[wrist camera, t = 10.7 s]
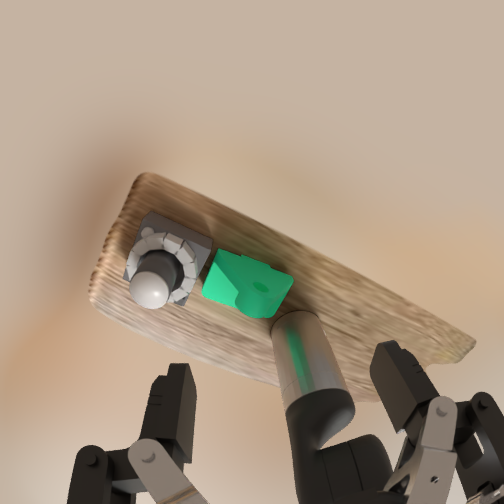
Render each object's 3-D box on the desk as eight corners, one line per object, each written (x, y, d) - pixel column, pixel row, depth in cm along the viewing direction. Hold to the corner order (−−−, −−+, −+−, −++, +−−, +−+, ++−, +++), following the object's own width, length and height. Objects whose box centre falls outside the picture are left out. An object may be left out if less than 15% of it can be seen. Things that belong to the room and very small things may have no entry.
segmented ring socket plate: (213, 239, 40) (209, 256, 34) (187, 292, 43) (181, 314, 37) (151, 210, 37) (138, 223, 32) (130, 266, 41) (118, 285, 35)
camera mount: (201, 286, 43) (193, 327, 33) (218, 245, 40) (214, 279, 31) (269, 310, 46) (277, 352, 36) (290, 272, 43) (305, 310, 34)
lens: (178, 245, 35) (166, 272, 28) (182, 278, 37) (172, 310, 30) (143, 246, 35) (124, 272, 28) (148, 278, 37) (133, 309, 30)
